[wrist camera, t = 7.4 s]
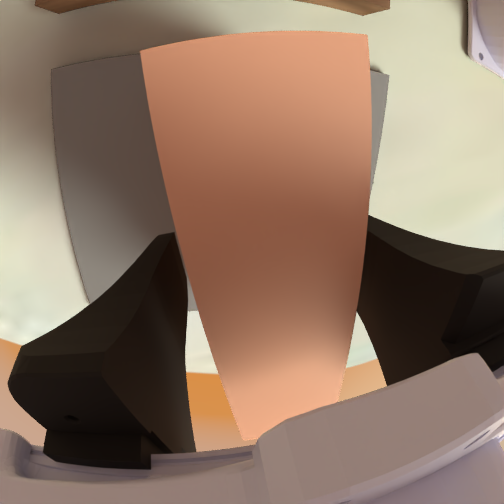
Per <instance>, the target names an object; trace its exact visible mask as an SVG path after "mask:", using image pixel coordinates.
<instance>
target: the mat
mask: <svg viewBox="0 0 504 504" xmlns="http://www.w3.org/2000/svg"><path fill="white" fill-rule="evenodd" d="M370 78H371V106H372V150H371V179H370V194H371V189H372V184H373V179H374V174H375V169H376V164H377V158H378V153H379V147H380V141H381V135H382V128H383V122H384V115H385V107H386V100H387V91H388V83H389V75H387V74H383V73H379V72H375V71H371V70H370ZM51 95H52V116H53V129H54V140H55V149H56V158H57V165H58V172H59V179H60V185H61V191H62V197H63V202H64V207H65V212H66V217H67V222H68V226H69V231H70V235H71V239H72V243H73V247H74V251H75V255H76V259H77V262H78V266H79V270H80V273H81V276H82V280H83V283H84V286H85V290H86V293H87V296H88V299H89V302H90V304H91V303H92V302H94V301H95V300H96V299H97V298H98V297H100V296H101V295H102V294H103V293H104V292H105V291H106V290H108V289H109V288H110V287H111V286H112V285H113V284H114V283H115V282H116V281H117V280H118V279H119V278H120V277H121V276H122V275H123V274H124V273H125V271H126V270H127V269H128V268H129V267H130V266H131V265H132V264H133V263H134V262H135V261H136V259H137V258H138V257H139V256H140V255H141V254H142V252H143V251H144V250H145V249H146V248H147V247H148V245H149V244H150V243H151V242H152V241H153V240H154V239H155V238H156V237H157V236H158V235H161V234H166V233H171V232H175V236H176V240H177V244H178V248H179V251H180V255H181V259H182V262H183V266H184V269H185V273H186V276H187V286H188V311H198V308H197V305H196V301H195V298H194V295H193V291H192V288H191V284H190V281H189V277H188V274H187V270H186V267H185V263H184V259H183V256H182V252H181V248H180V244H179V241H178V237H177V233H176V229H175V225H174V221H173V217H172V213H171V209H170V205H169V200H168V196H167V192H166V188H165V183H164V179H163V174H162V170H161V165H160V161H159V156H158V151H157V146H156V141H155V136H154V131H153V126H152V121H151V115H150V110H149V104H148V99H147V93H146V87H145V81H144V74H143V68H142V61H141V54H133V55H125V56H118V57H111V58H104V59H98V60H92V61H87V62H82V63H77V64H72V65H68V66H63V67H59V68H55V69H51ZM369 199H370V197H369Z"/></svg>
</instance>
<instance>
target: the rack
mask: <svg viewBox="0 0 504 504" xmlns="http://www.w3.org/2000/svg"><path fill="white" fill-rule="evenodd" d="M111 1H117V0H36V1H35V6H38V7H41V8H44V9H47V10H50V11H53V12H55V13H58V14H60V13H63V12H67V11H70V10H74V9H78V8H82V7H87V6H91V5H96V4H101V3H106V2H111ZM295 1H301V2H307V3H312V4H317V5H322V6H327V7H331V8H335V9H339V10H343V11H347V12H351V13H355V14H358V15H362V16H364V15H367V14H371V13H375V12H379V11H383V10H388V9H390V0H295Z"/></svg>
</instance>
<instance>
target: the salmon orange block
mask: <svg viewBox="0 0 504 504" xmlns="http://www.w3.org/2000/svg"><path fill="white" fill-rule="evenodd" d="M140 54H141V61H142V68H143V74H144V81H145V87H146V93H147V99H148V104H149V110H150V115H151V121H152V126H153V131H154V136H155V141H156V146H157V151H158V156H159V161H160V165H161V170H162V174H163V179H164V183H165V188H166V192H167V196H168V200H169V205H170V209H171V213H172V217H173V221H174V225H175V229H176V233H177V237H178V241H179V244H180V248H181V252H182V256H183V259H184V263H185V267H186V270H187V274H188V277H189V281H190V284H191V288H192V291H193V295H194V298H195V301H196V305H197V308H198V311H199V315H200V318H201V321H202V324H203V328H204V331H205V334H206V337H207V340H208V343H209V346H210V350H211V353H212V356H213V359H214V362H215V365H216V368H217V370H218V373H219V376H220V379H221V382H222V385H223V388H224V391H225V393H226V396H227V399H228V402H229V404H230V407H231V410H232V412H233V415H234V418H235V421H236V423H237V426H238V428H239V431H240V434H241V436H242V439H243V440H244V441H245V440H251V439H257V438H259V437H260V436H261V435H262V434H263V433H265V432H266V431H268V430H270V429H271V428H273V427H275V426H276V425H278V424H279V423H281V422H283V421H284V420H286V419H288V418H291V417H294V416H297V415H300V414H303V413H306V412H309V411H311V410H314V409H317V408H319V407H323V406H326V405H330V404H334V403H337V402H338V398H339V394H340V390H341V386H342V382H343V377H344V373H345V369H346V364H347V359H348V354H349V349H350V344H351V339H352V334H353V328H354V323H355V317H356V311H357V305H358V298H359V292H360V285H361V278H362V270H363V262H364V253H365V244H366V234H367V224H368V211H369V197H370V179H371V150H372V106H371V78H370V61H369V48H368V37H367V35H364V34H354V33H342V32H325V31H269V32H252V33H239V34H229V35H221V36H213V37H206V38H199V39H193V40H187V41H182V42H176V43H171V44H166V45H162V46H157V47H153V48H149V49H145V50H141V51H140Z"/></svg>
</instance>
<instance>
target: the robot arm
mask: <svg viewBox="0 0 504 504" xmlns="http://www.w3.org/2000/svg"><path fill="white" fill-rule="evenodd" d="M468 55H469V57H470V59H471V60H473V61H475V62H476V63H478V64H480V65H481V66H483V67H485V68H487V69H488V70H490V71H491V72H493V73H495V74H496V75H498V76H499V77H501V78H502V79H504V0H468ZM187 313H188V286H187V276H186V273H185V269H184V266H183V262H182V259H181V255H180V251H179V248H178V244H177V240H176V236H175V232H171V233H166V234H161V235H158V236H157V237H156V238H155V239H154V240H153V241H152V242H151V243H150V244H149V245H148V247H147V248H146V249H145V250H144V251H143V252H142V254H141V255H140V256H139V257H138V258H137V259H136V261H135V262H134V263H133V264H132V265H131V266H130V267H129V268H128V269H127V270H126V271H125V273H124V274H123V275H122V276H121V277H120V278H119V279H118V280H117V281H116V282H115V283H114V284H113V285H112V286H111V287H110V288H109V289H108V290H106V291H105V292H104V293H103V294H102V295H101V296H100V297H98V298H97V299H96V300H95V301H94V302H92V303H91V304H90V305H88V306H87V307H86V308H84V309H83V310H82V311H80V312H79V313H78V314H76V315H75V316H74V317H72V318H71V319H69V320H68V321H66V322H65V323H63V324H61V325H60V326H58V327H57V328H55V329H53V330H52V331H50V332H48V333H46V334H44V335H43V336H41V337H39V338H37V339H35V340H33V341H31V342H29V343H27V344H25V345H23V346H21V348H20V351H19V353H18V356H17V359H16V361H15V364H14V366H13V369H12V372H11V374H10V377H9V380H8V387H9V391H10V393H11V395H12V396H13V398H14V400H15V401H16V402H17V403H18V404H19V405H20V406H21V407H22V408H23V409H24V410H25V411H26V412H27V413H28V414H29V415H30V416H31V417H33V418H34V419H35V420H36V421H37V422H38V423H39V424H41V425H42V426H43V427H44V428H45V429H47V432H46V436H45V442H44V447H41V446H35V445H31V444H30V443H29V442H28V441H27V440H26V439H25V438H23V437H22V436H21V435H19V434H17V433H15V432H13V431H10V430H7V429H1V428H0V504H504V451H503V449H502V448H501V446H500V444H499V442H501V441H502V440H503V439H504V251H501V250H487V249H480V248H473V247H466V246H461V245H456V244H451V243H447V242H443V241H439V240H435V239H431V238H428V237H425V236H422V235H418V234H415V233H412V232H409V231H407V230H404V229H401V228H399V227H396V226H394V225H391V224H389V223H386V222H384V221H381V220H379V219H377V218H374V217H372V216H370V215H368V224H367V234H366V244H365V253H364V262H363V270H362V278H361V285H360V292H359V298H358V305H357V313H358V314H359V316H360V318H361V320H362V322H363V324H364V326H365V328H366V330H367V333H368V335H369V337H370V340H371V342H372V344H373V347H374V350H375V352H376V355H377V358H378V360H379V363H380V366H381V369H382V372H383V375H384V378H385V381H386V384H387V387H384V388H381V389H378V390H375V391H372V392H369V393H366V394H363V395H360V396H357V397H354V398H351V399H348V400H344V401H341V402H337V403H334V404H330V405H326V406H323V407H319V408H317V409H314V410H311V411H309V412H306V413H303V414H300V415H297V416H294V417H291V418H288V419H286V420H284V421H283V422H281V423H279V424H278V425H276V426H275V427H273V428H271V429H270V430H268V431H266V432H265V433H263V434H262V435H261V436H260V437H259V439H258V440H257V443H256V445H250V446H244V447H237V448H230V449H222V450H213V451H204V452H196V448H195V442H194V436H193V430H192V423H191V416H190V409H189V400H188V391H187V380H186V366H185V344H186V328H187Z"/></svg>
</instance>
